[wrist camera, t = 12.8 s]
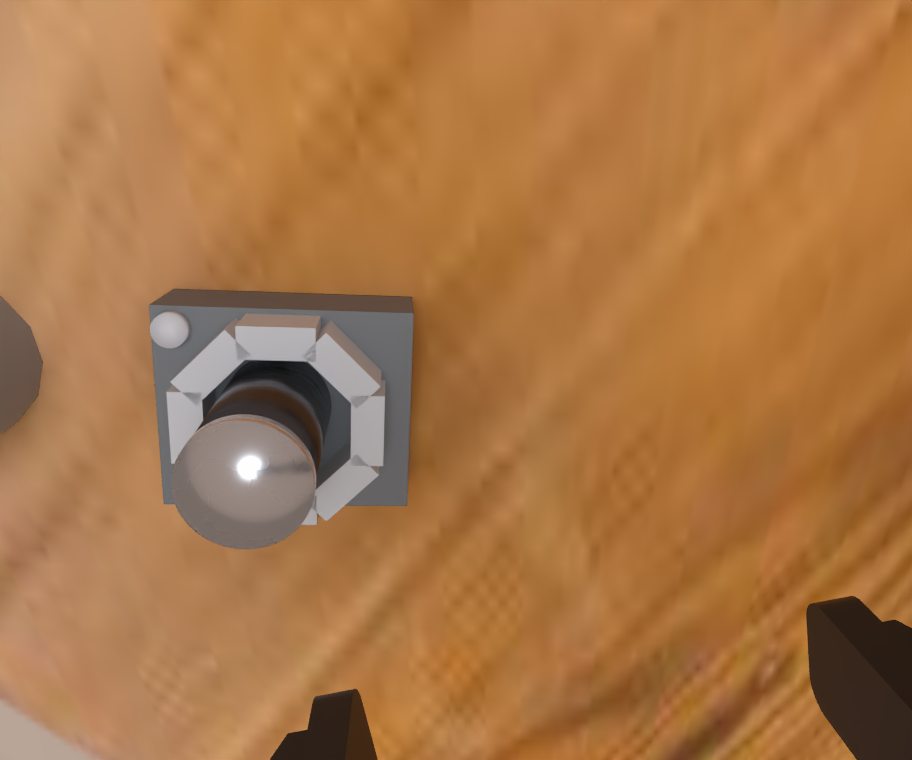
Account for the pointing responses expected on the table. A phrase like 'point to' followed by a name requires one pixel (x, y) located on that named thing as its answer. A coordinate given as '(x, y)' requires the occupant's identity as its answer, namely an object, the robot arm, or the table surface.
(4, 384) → the cup
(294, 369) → the lens
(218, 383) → the grey block with ring
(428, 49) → the table surface
